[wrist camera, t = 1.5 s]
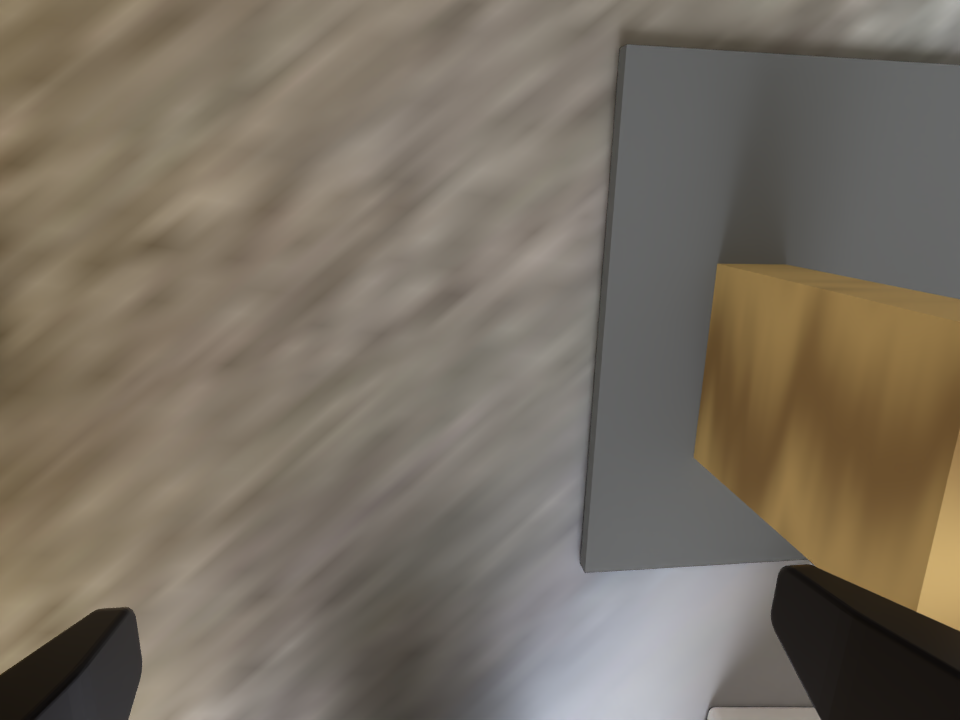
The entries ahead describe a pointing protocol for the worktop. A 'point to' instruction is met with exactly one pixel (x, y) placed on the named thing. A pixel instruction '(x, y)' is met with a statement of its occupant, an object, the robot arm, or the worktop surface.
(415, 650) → the worktop surface
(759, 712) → the tall white carton
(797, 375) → the ochre block
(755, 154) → the rubber mat
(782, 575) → the robot arm
